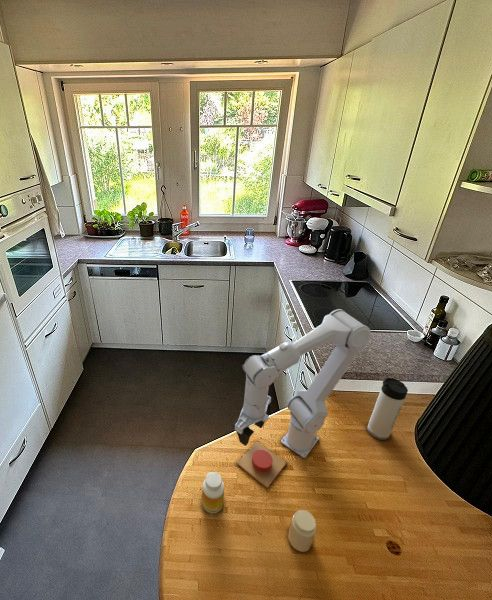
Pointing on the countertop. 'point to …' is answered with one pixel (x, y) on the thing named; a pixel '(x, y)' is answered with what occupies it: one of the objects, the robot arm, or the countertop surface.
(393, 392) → the travel mug
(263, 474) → the trivet
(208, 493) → the supplement bottle
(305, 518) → the jar
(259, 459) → the lid
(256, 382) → the robot arm
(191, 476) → the countertop surface
